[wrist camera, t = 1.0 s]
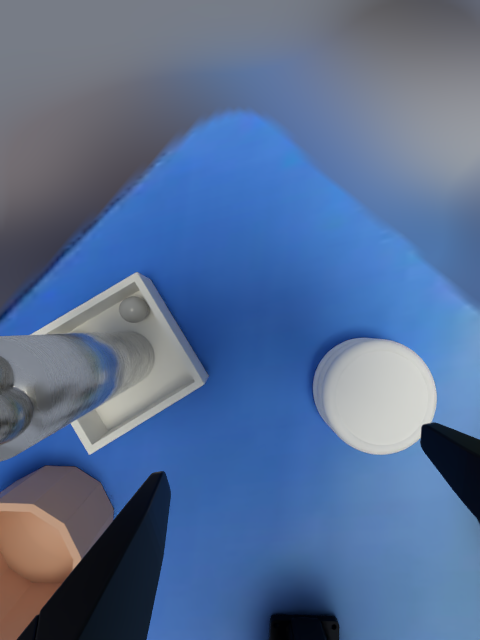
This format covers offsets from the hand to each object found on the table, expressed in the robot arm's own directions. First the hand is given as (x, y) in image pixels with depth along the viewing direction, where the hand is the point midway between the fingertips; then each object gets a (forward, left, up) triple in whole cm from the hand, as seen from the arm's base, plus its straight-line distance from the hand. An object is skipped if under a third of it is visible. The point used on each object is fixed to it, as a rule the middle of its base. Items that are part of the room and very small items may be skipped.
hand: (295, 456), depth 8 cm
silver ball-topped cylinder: (+1, +12, -14) cm, 19 cm away
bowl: (-15, +18, -14) cm, 28 cm away
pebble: (+5, +12, -14) cm, 19 cm away
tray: (+1, +12, -14) cm, 19 cm away
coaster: (-1, -11, -15) cm, 18 cm away
